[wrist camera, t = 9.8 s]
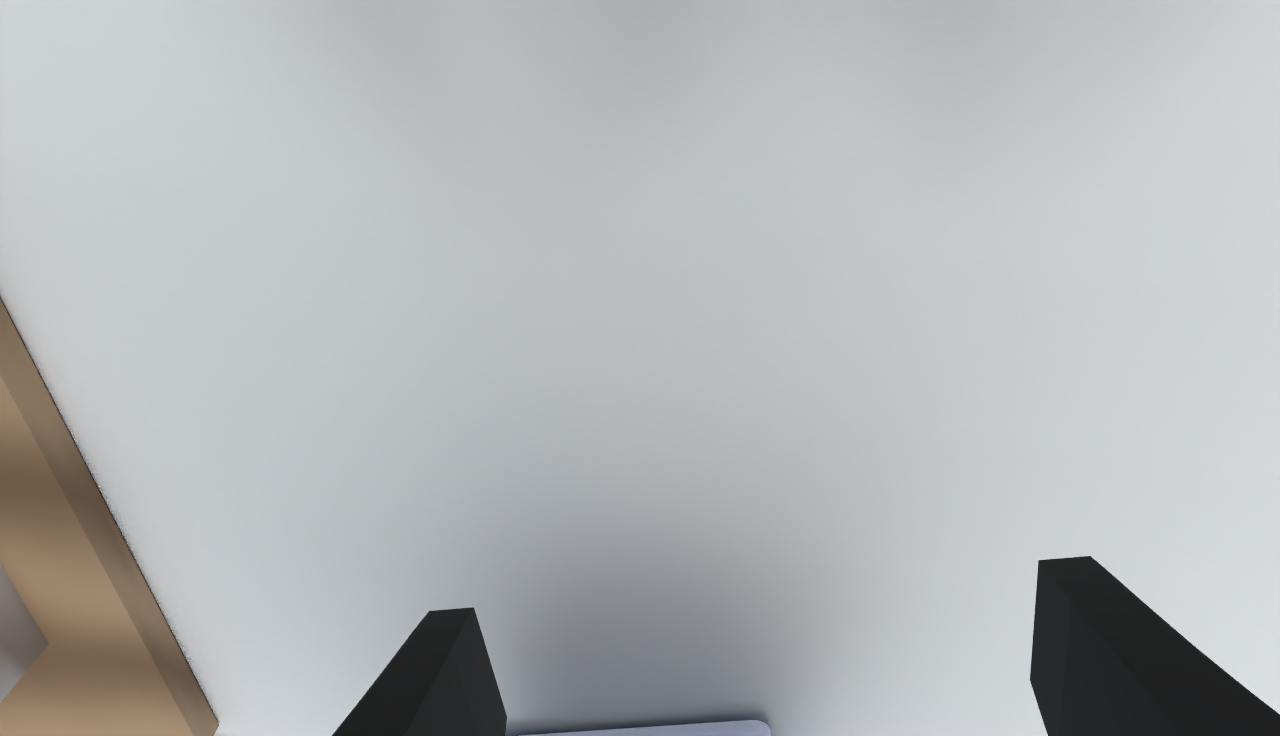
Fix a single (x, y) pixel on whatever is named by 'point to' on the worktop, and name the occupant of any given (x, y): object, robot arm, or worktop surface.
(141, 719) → the hinge board
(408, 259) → the worktop surface
